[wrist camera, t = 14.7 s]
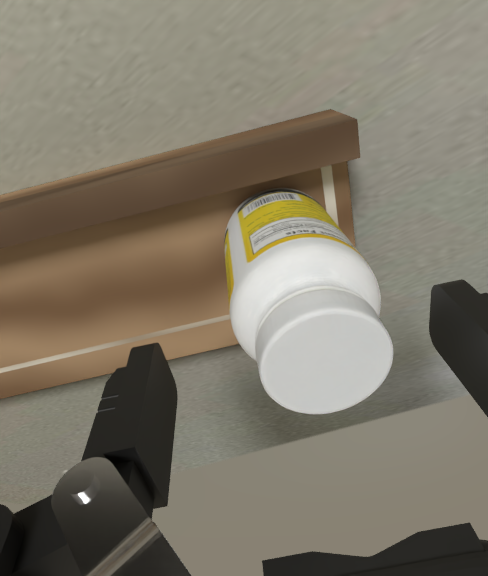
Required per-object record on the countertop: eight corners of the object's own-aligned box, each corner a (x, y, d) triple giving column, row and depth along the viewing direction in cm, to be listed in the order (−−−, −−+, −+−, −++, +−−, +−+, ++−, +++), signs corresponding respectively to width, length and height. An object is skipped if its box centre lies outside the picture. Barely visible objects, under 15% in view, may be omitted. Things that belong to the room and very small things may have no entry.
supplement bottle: (288, 300, 22) (335, 451, 13) (203, 253, 20) (196, 393, 12) (352, 221, 20) (457, 341, 11) (264, 161, 18) (309, 250, 9)
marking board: (-164, 237, 20) (-241, 273, 17) (330, 109, 19) (357, 119, 15) (-39, 388, 26) (-78, 439, 22) (351, 297, 24) (374, 336, 21)
